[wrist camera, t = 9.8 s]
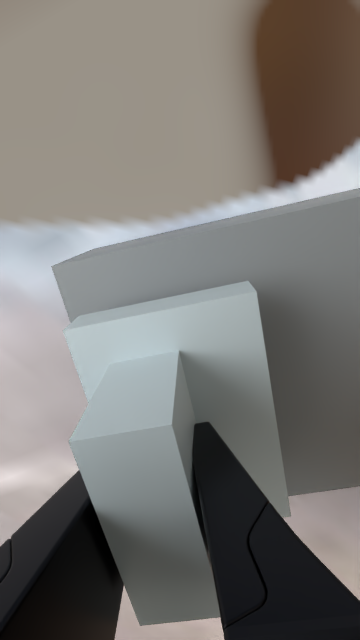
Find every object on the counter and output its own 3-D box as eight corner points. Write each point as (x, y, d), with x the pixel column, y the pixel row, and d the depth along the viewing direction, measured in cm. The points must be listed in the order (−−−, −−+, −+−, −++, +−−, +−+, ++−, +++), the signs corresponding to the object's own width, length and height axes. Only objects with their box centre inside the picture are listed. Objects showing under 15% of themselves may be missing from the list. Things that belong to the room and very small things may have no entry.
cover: (280, 484, 11) (331, 641, 7) (141, 504, 12) (113, 661, 8) (248, 280, 9) (293, 339, 5) (78, 315, 9) (-6, 395, 5)
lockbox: (460, 390, 16) (564, 460, 11) (150, 440, 17) (136, 519, 13) (470, 162, 13) (617, 138, 8) (93, 248, 14) (50, 267, 10)
